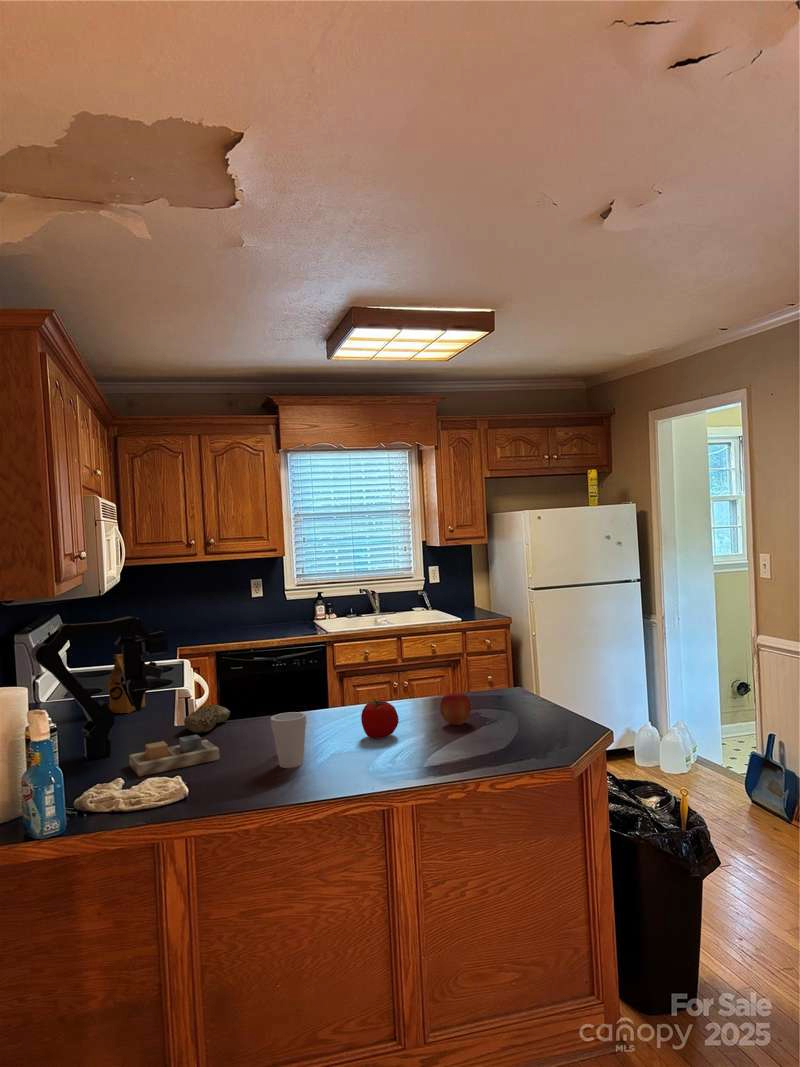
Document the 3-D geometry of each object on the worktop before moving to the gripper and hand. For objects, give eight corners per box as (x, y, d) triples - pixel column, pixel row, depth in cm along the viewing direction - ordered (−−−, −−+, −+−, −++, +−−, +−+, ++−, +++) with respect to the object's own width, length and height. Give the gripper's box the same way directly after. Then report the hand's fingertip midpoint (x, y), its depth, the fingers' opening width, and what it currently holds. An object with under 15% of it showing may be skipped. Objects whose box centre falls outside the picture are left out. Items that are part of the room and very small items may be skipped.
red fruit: (375, 730, 234) (372, 694, 234) (407, 733, 228) (404, 696, 228) (353, 741, 224) (350, 703, 224) (386, 744, 218) (383, 706, 218)
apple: (477, 725, 233) (475, 692, 233) (449, 730, 229) (447, 697, 229) (463, 718, 242) (461, 687, 242) (436, 723, 238) (434, 691, 238)
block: (150, 770, 208) (149, 748, 208) (146, 766, 213) (145, 744, 213) (169, 766, 211) (167, 744, 211) (164, 762, 215) (163, 741, 215)
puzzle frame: (139, 776, 203) (137, 754, 203) (129, 765, 214) (128, 744, 214) (219, 759, 214) (218, 738, 214) (206, 749, 225) (205, 729, 225)
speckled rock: (206, 724, 262) (167, 727, 244) (211, 701, 263) (173, 703, 245) (237, 733, 257) (199, 737, 239) (242, 710, 258) (204, 712, 240)
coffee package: (105, 714, 282) (101, 655, 282) (129, 706, 294) (125, 649, 294) (126, 715, 279) (122, 655, 278) (149, 706, 290) (145, 649, 290)
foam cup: (310, 757, 210) (307, 711, 210) (307, 768, 201) (304, 719, 201) (276, 760, 210) (273, 713, 210) (271, 771, 201) (268, 721, 200)
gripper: (165, 657, 228) (169, 709, 228) (153, 650, 244) (157, 699, 244) (126, 662, 223) (130, 715, 223) (117, 655, 239) (120, 704, 239)
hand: (135, 708), depth 232 cm, fingers open, 9 cm apart
